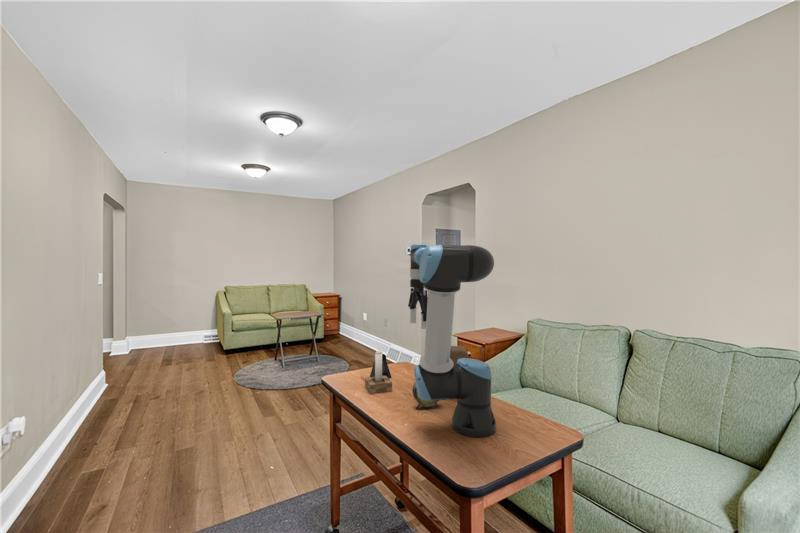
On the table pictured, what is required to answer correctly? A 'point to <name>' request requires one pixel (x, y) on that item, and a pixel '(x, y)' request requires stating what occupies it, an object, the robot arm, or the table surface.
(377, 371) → the needle peg
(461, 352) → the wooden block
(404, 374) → the table surface
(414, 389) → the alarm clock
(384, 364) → the door stopper
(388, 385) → the brown square box
